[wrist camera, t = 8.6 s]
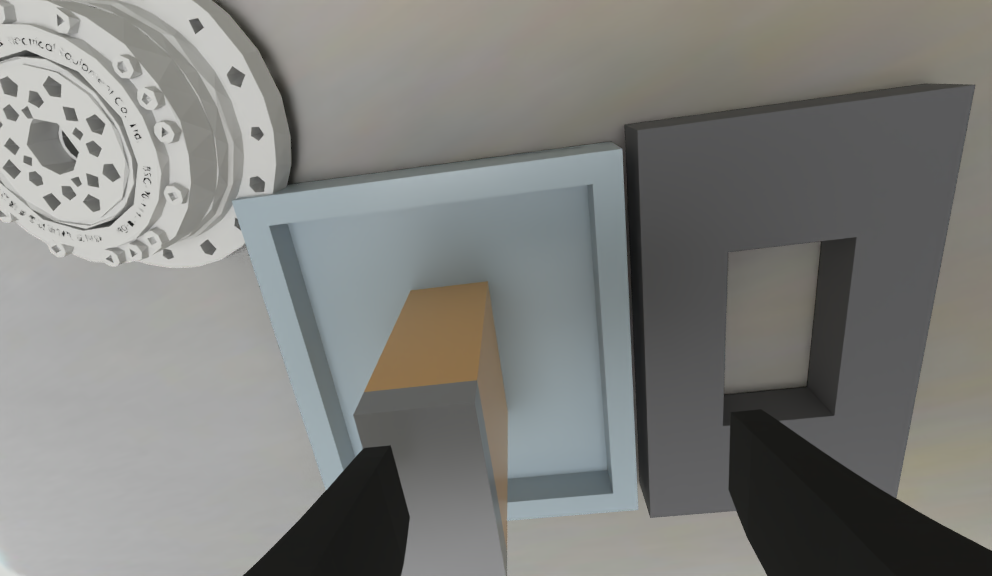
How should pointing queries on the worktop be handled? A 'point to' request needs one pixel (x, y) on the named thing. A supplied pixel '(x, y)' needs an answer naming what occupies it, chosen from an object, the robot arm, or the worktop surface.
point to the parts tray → (461, 260)
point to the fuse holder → (777, 222)
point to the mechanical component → (135, 128)
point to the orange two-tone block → (445, 430)
